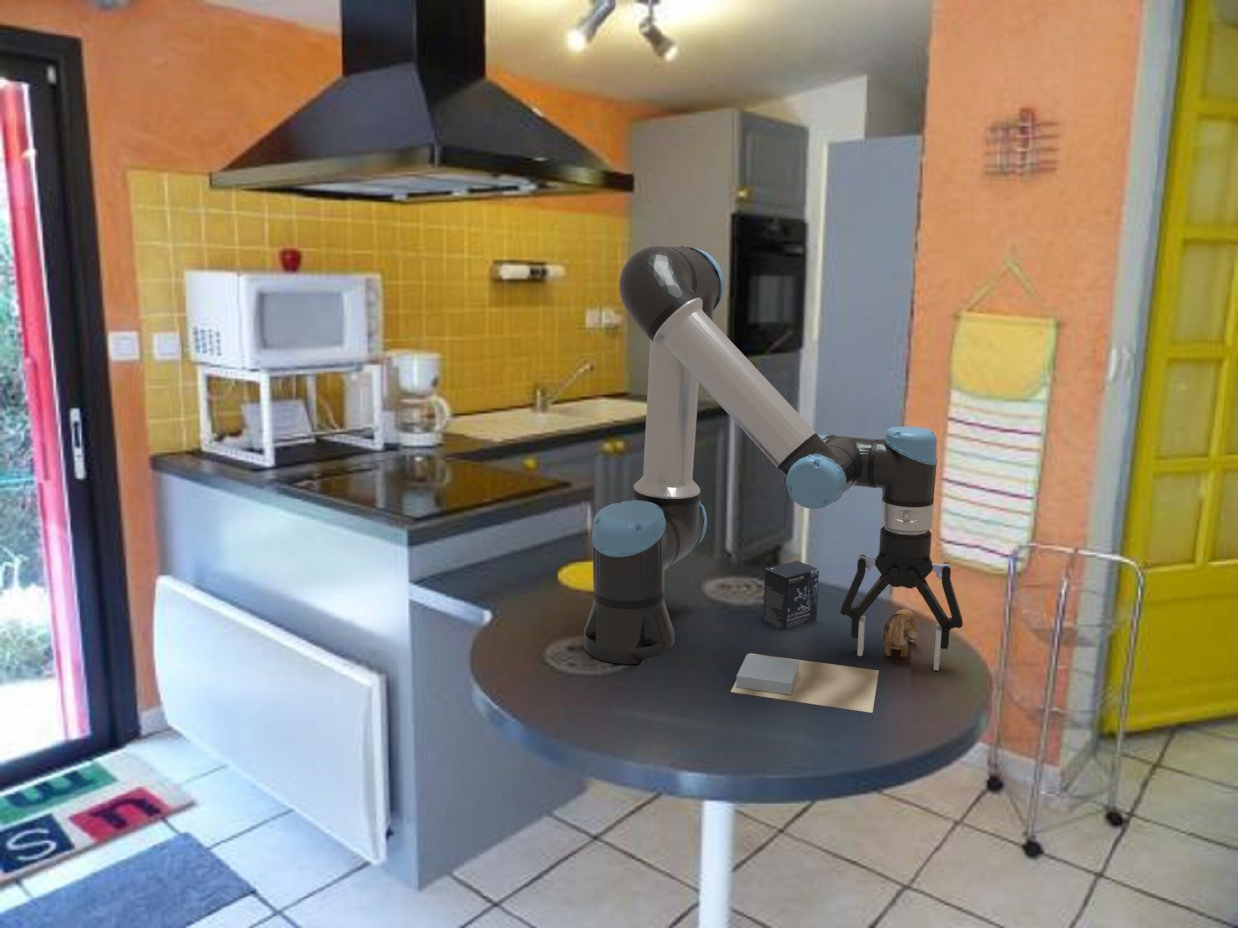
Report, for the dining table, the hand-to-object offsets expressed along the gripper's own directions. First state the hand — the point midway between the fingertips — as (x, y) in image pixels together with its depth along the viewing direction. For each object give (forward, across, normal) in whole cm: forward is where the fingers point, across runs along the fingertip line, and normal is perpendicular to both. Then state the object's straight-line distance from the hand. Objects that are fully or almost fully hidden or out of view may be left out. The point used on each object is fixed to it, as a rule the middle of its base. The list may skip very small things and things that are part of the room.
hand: (897, 661), depth 144 cm
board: (0, -13, -13) cm, 18 cm away
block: (-2, -18, -10) cm, 21 cm away
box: (0, -18, +10) cm, 21 cm away
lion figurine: (0, 0, +3) cm, 3 cm away
